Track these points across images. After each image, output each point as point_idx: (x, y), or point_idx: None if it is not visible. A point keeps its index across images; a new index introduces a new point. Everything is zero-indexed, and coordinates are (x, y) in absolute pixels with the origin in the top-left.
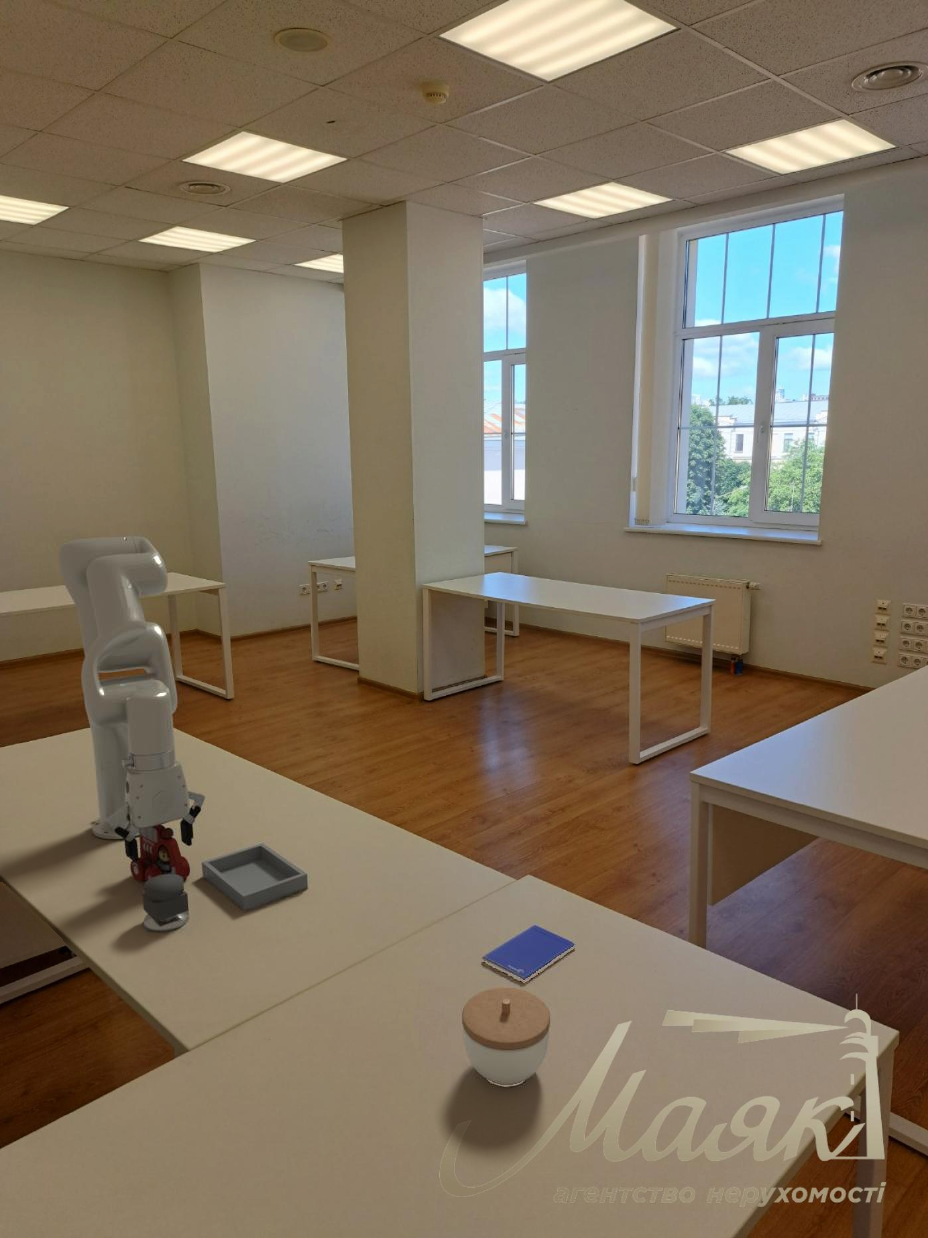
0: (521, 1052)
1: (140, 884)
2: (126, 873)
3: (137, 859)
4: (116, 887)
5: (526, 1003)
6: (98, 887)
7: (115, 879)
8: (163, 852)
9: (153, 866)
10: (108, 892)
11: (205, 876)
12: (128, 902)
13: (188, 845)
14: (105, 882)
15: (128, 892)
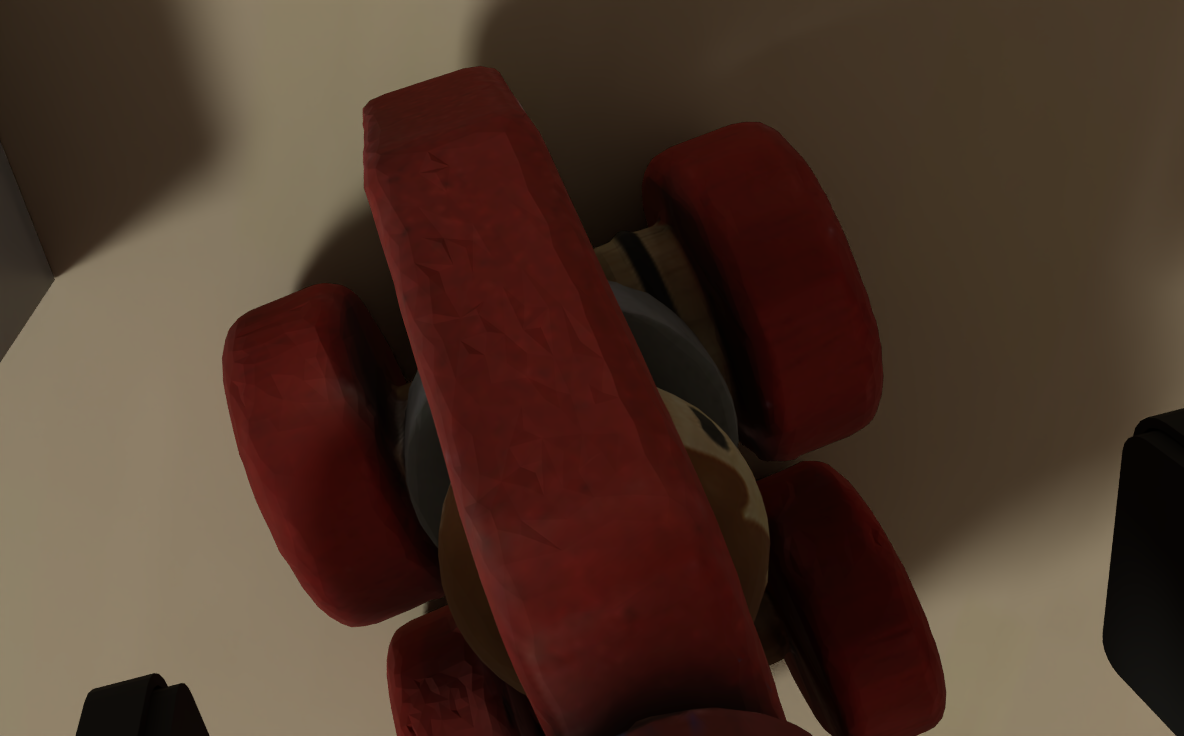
0: None
1: None
2: None
3: (1174, 426)
4: (1022, 462)
5: None
6: None
7: (971, 626)
8: (731, 484)
9: (807, 399)
10: (1117, 390)
11: (4, 192)
12: (1053, 42)
13: (168, 695)
14: (1060, 602)
15: (969, 295)
